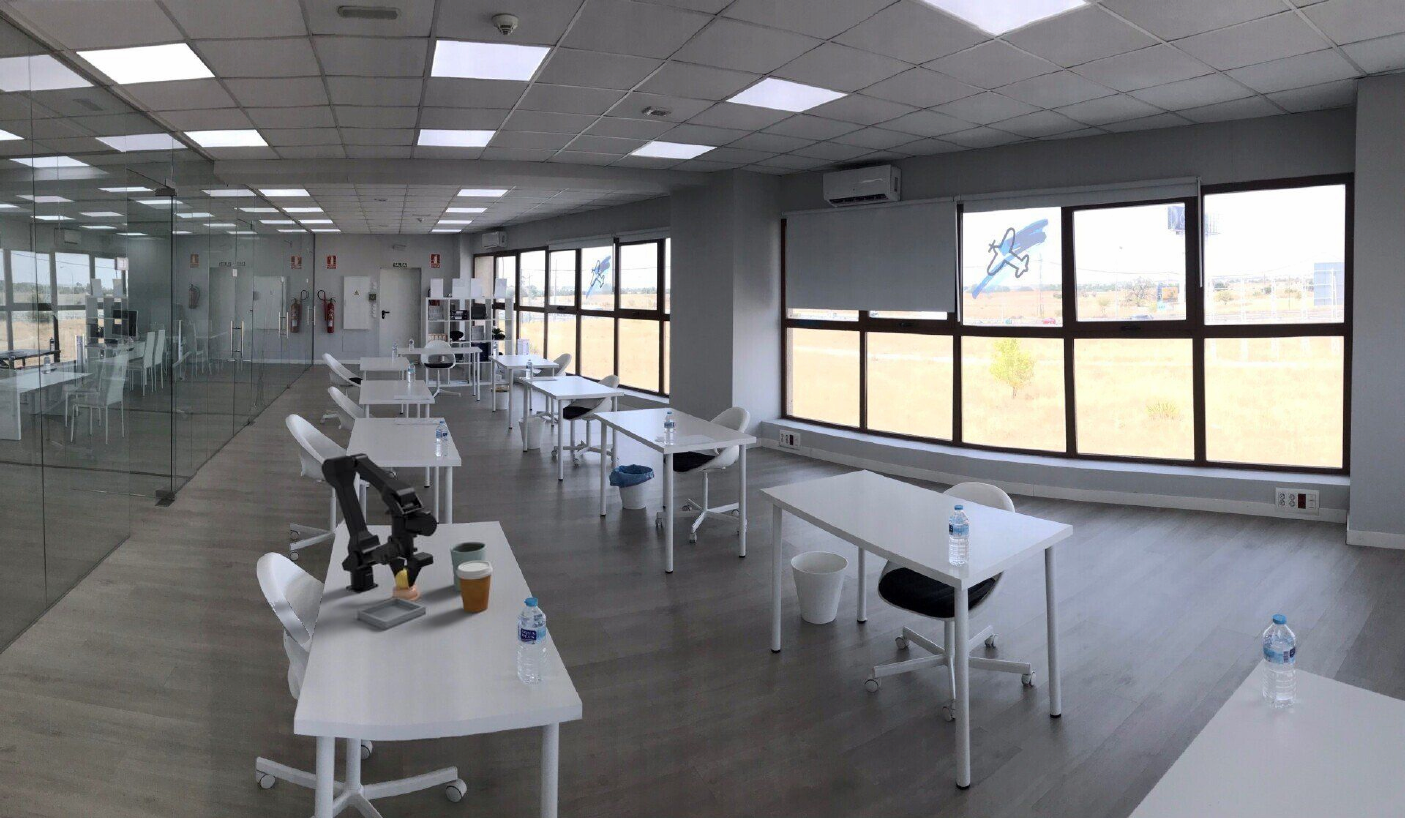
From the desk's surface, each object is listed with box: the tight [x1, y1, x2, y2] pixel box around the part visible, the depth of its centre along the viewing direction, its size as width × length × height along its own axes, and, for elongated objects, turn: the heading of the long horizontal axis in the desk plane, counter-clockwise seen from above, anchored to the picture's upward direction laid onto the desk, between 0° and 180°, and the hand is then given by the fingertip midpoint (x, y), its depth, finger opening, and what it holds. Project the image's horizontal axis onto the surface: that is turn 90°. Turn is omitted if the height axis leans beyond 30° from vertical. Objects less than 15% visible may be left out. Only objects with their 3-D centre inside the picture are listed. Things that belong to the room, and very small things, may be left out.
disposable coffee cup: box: [456, 560, 494, 614], centre depth 202 cm, size 10×10×12 cm
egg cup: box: [390, 582, 421, 602], centre depth 209 cm, size 8×8×4 cm
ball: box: [394, 569, 409, 588], centre depth 209 cm, size 5×5×5 cm
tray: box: [356, 597, 427, 631], centre depth 197 cm, size 12×12×2 cm
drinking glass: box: [449, 541, 487, 592], centre depth 218 cm, size 10×10×12 cm
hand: (404, 584), depth 209 cm, fingers closed on ball, 5 cm apart
